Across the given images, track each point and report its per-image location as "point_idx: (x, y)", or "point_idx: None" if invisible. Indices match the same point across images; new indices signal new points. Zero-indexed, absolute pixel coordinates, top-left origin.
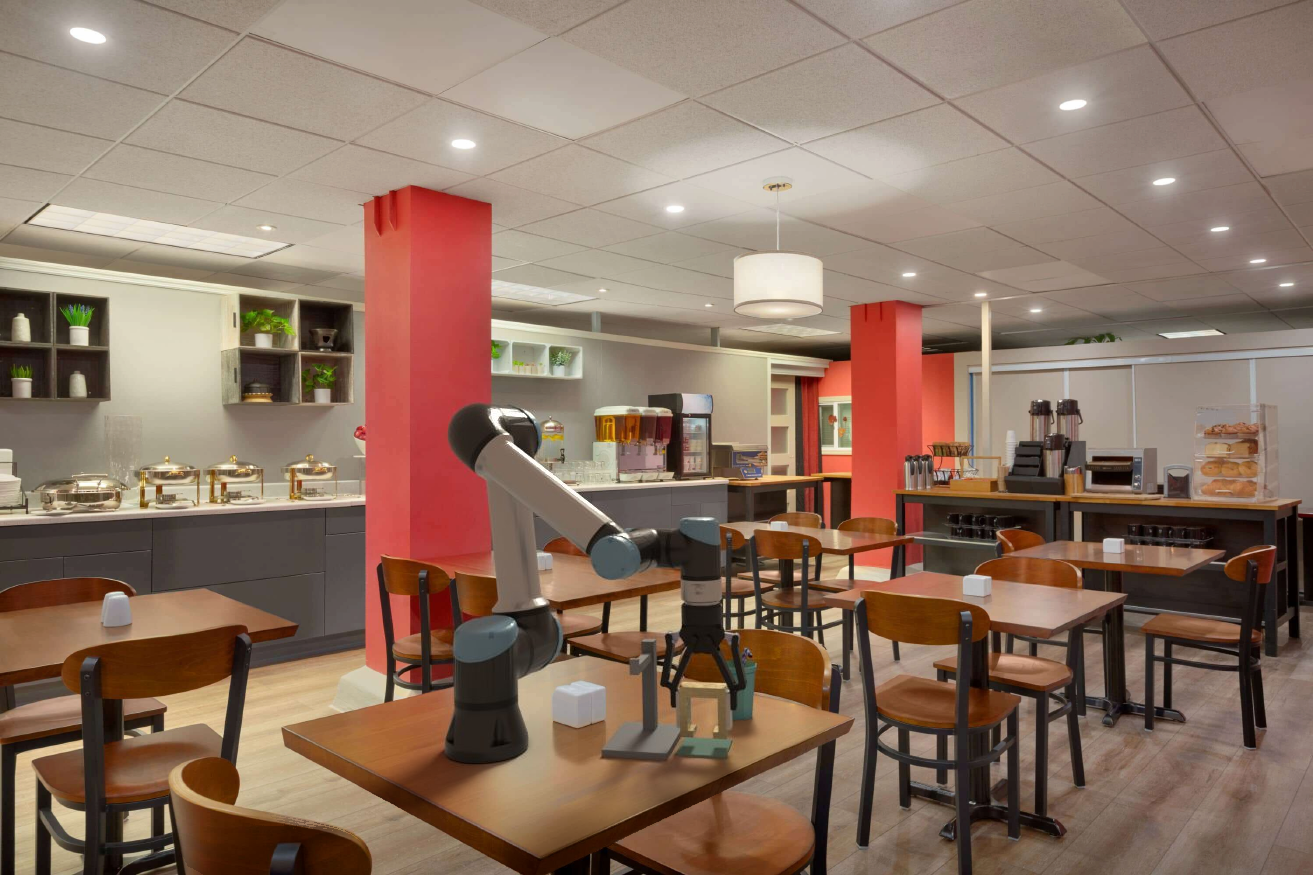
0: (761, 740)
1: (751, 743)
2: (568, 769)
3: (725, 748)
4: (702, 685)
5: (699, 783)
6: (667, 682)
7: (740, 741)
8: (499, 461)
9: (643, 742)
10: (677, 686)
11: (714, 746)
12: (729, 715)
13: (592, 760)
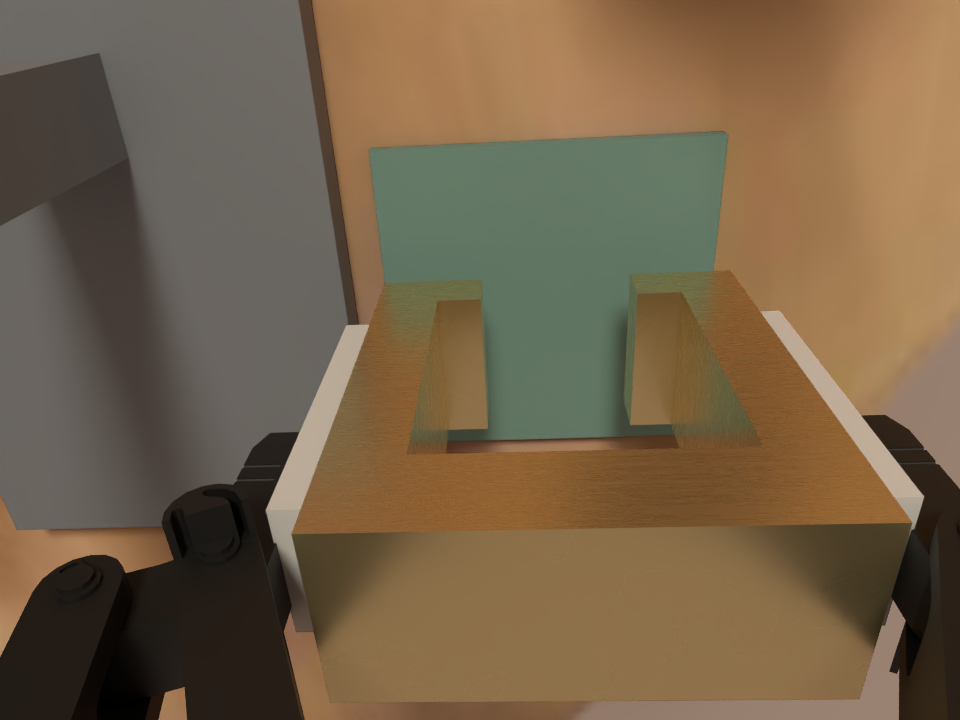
0: (954, 57)
1: (866, 142)
2: (3, 646)
3: None
4: (580, 627)
5: None
6: (158, 680)
7: (785, 115)
8: None
9: (176, 400)
10: (274, 595)
11: (613, 300)
12: None
13: (31, 553)
